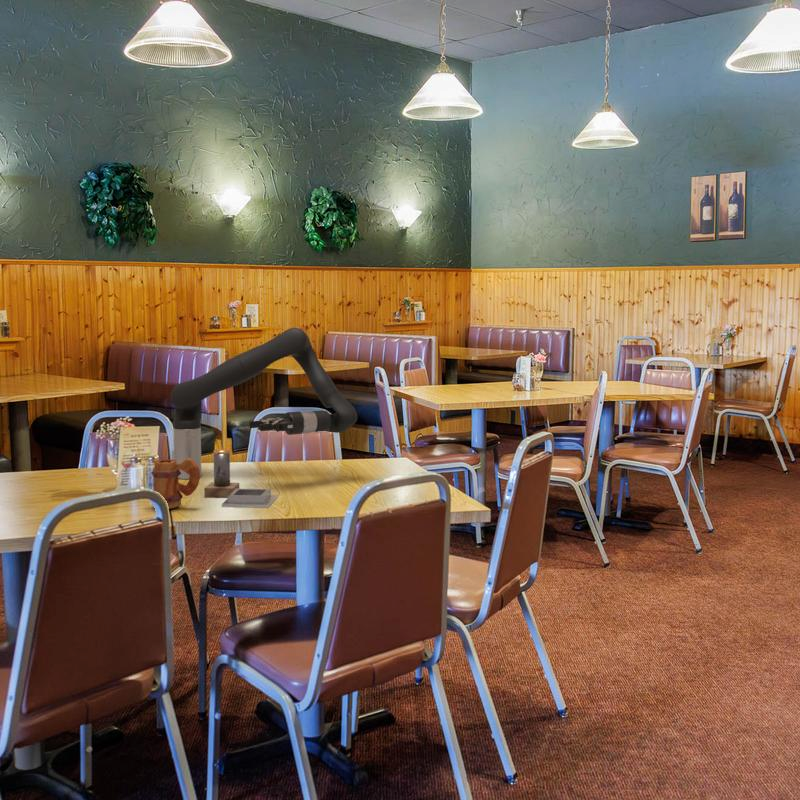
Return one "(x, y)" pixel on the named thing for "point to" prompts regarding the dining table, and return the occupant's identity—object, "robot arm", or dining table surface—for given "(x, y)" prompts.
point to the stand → (219, 490)
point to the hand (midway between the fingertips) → (254, 426)
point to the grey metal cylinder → (221, 467)
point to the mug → (175, 479)
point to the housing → (250, 498)
